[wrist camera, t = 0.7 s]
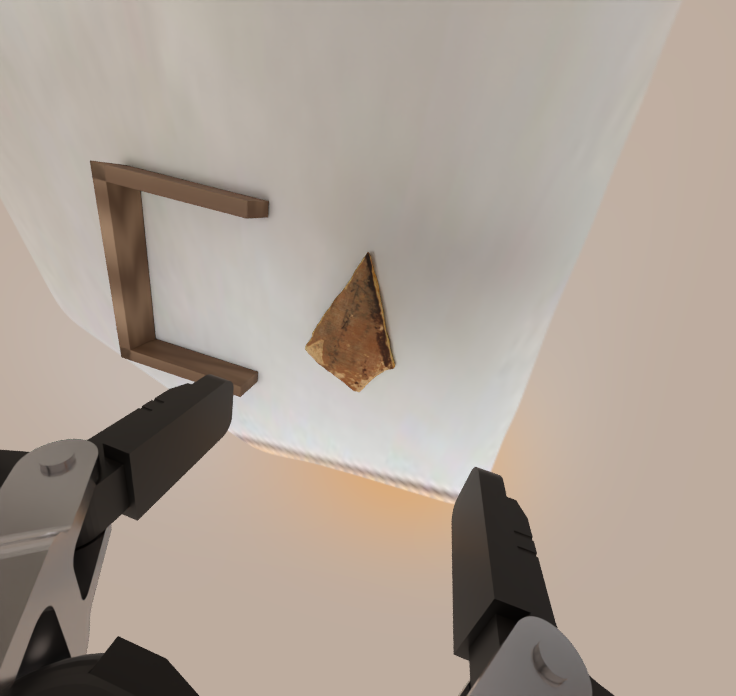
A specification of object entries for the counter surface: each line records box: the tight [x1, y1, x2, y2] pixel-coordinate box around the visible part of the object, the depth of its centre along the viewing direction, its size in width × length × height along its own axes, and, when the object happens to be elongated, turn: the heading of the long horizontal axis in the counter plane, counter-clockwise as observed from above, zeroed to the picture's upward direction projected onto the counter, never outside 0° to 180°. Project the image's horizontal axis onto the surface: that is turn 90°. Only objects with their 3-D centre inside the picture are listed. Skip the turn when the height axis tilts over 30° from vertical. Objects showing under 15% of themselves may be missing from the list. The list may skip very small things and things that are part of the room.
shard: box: [305, 252, 395, 392], centre depth 27 cm, size 11×8×2 cm
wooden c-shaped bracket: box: [90, 161, 269, 397], centre depth 28 cm, size 17×13×3 cm
